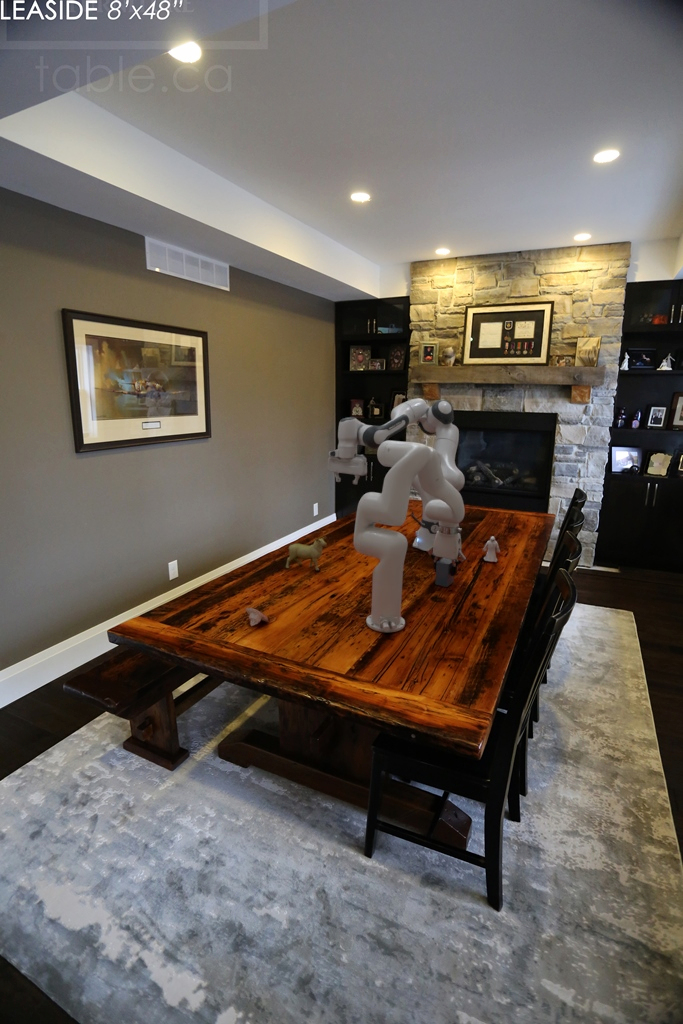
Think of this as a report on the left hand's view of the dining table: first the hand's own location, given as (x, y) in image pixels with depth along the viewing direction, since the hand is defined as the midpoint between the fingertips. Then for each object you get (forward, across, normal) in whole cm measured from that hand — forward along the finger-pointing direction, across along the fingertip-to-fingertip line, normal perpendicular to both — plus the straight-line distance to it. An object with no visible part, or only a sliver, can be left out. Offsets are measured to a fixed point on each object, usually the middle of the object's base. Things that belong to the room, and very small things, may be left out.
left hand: (445, 573), depth 196 cm
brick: (+4, 0, 0) cm, 4 cm away
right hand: (-27, +57, -14) cm, 65 cm away
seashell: (+4, +35, +69) cm, 78 cm away
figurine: (+4, -6, -38) cm, 39 cm away
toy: (+4, +53, +20) cm, 57 cm away
